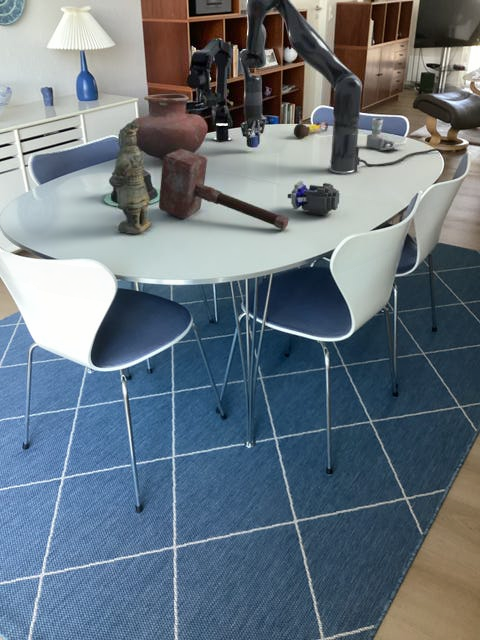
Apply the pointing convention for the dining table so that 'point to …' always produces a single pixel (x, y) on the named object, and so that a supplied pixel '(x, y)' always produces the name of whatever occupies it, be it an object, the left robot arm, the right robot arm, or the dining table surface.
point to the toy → (315, 198)
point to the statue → (131, 182)
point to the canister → (254, 141)
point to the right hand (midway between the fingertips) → (253, 145)
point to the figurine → (307, 129)
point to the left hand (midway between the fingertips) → (205, 124)
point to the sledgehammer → (200, 190)
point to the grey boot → (379, 137)
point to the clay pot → (169, 126)
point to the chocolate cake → (152, 192)
